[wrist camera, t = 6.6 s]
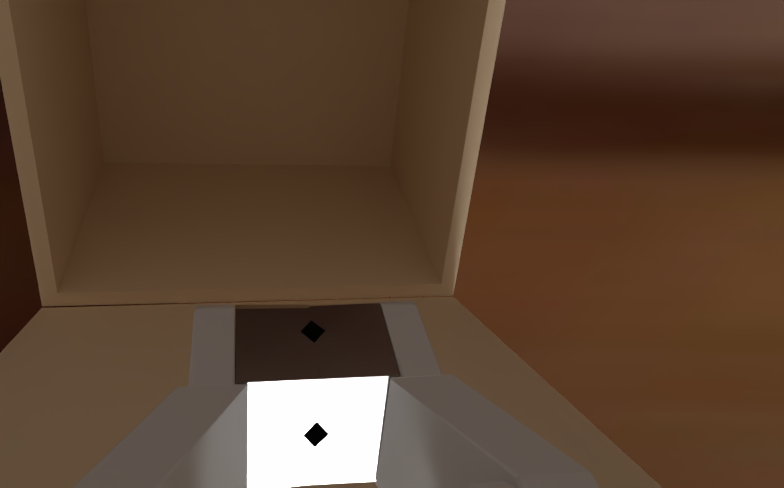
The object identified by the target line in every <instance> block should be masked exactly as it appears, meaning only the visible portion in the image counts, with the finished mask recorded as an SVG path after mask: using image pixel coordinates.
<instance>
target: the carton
mask: <svg viewBox="0 0 784 488" xmlns="http://www.w3.org/2000/svg"><path fill="white" fill-rule="evenodd" d="M505 2H506V0H0V78H1V84H2V89H3V95H4V100H5V106H6V111H7V116H8V122H9V127H10V133H11V138H12V144H13V149H14V155H15V160H16V166H17V171H18V177H19V182H20V188H21V193H22V199H23V204H24V210H25V215H26V221H27V226H28V232H29V237H30V242H31V248H32V253H33V259H34V264H35V270H36V275H37V281H38V286H39V292H40V297H41V303H42V306H76V305H114V304H152V303H190V302H228V301H266V300H304V299H342V298H381V297H419V296H453V293H454V287H455V282H456V276H457V270H458V265H459V259H460V254H461V248H462V242H463V237H464V231H465V226H466V220H467V215H468V209H469V203H470V198H471V192H472V187H473V181H474V175H475V170H476V164H477V159H478V153H479V147H480V142H481V136H482V131H483V125H484V119H485V114H486V108H487V103H488V97H489V92H490V86H491V80H492V75H493V69H494V64H495V58H496V52H497V47H498V41H499V36H500V30H501V24H502V19H503V13H504V8H505Z"/></svg>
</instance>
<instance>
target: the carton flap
mask: <svg viewBox="0 0 784 488" xmlns="http://www.w3.org/2000/svg"><path fill="white" fill-rule="evenodd" d="M405 300H412V301H413V302H414V303H416V305H417V308H418V310H419V313H420V316H421V318H422V321H423V324H424V327H425V329H426V332H427V335H428V337H429V340H430V343H431V345H432V348H433V351H434V353H435V356H436V359H437V362H438V364H439V367H440V370H441V372H442V375H454V376H455V377H457V378H458V379H460V380H461V381H462V382H464V383H465V384H467V385H468V386H469V387H471V388H472V389H474V390H475V391H476V392H478V393H479V394H481V395H482V396H484V397H485V398H486V399H488V400H489V401H491V402H492V403H493V404H495V405H496V406H498V407H499V408H501V409H502V410H503V411H505V412H506V413H508V414H509V415H510V416H512V417H513V418H515V419H516V420H518V421H519V422H520V423H522V424H523V425H525V426H526V427H527V428H529V429H530V430H532V431H533V432H535V433H536V434H537V435H539V436H540V437H542V438H543V439H544V440H546V441H547V442H549V443H550V444H551V445H553V446H554V447H556V448H557V449H559V450H560V451H561V452H563V453H564V454H566V455H567V456H568V457H570V458H571V459H573V460H574V461H576V462H577V463H578V464H580V465H581V466H583V467H584V468H585V469H587V470H588V471H590V472H591V473H592V475H593V477H594V479H595V481H596V483H597V485H598V487H599V488H662V487H661V486H660V485H659V484H658V483H657V482H656V481H654V480H653V479H652V478H651V477H650V476H649V475H648V474H647V473H646V472H645V471H644V470H642V469H641V468H640V467H639V466H638V465H637V464H636V463H635V462H634V461H633V460H632V459H630V458H629V457H628V456H627V455H626V454H625V453H624V452H623V451H622V450H621V449H619V448H618V447H617V446H616V445H615V444H614V443H613V442H612V441H611V440H610V439H609V438H607V437H606V436H605V435H604V434H603V433H602V432H601V431H600V430H599V429H598V428H597V427H595V426H594V425H593V424H592V423H591V422H590V421H589V420H588V419H587V418H586V417H584V416H583V415H582V414H581V413H580V412H579V411H578V410H577V409H576V408H575V407H574V406H572V405H571V404H570V403H569V402H568V401H567V400H566V399H565V398H564V397H563V396H561V395H560V394H559V393H558V392H557V391H556V390H555V389H554V388H553V387H552V386H551V385H549V384H548V383H547V382H546V381H545V380H544V379H543V378H542V377H541V376H540V375H539V374H537V373H536V372H535V371H534V370H533V369H532V368H531V367H530V366H529V365H528V364H526V363H525V362H524V361H523V360H522V359H521V358H520V357H519V356H518V355H517V354H516V353H514V352H513V351H512V350H511V349H510V348H509V347H508V346H507V345H506V344H505V343H504V342H502V341H501V340H500V339H499V338H498V337H497V336H496V335H495V334H494V333H493V332H491V331H490V330H489V329H488V328H487V327H486V326H485V325H484V324H483V323H482V322H481V321H479V320H478V319H477V318H476V317H475V316H474V315H473V314H472V313H471V312H470V311H468V310H467V309H466V308H465V307H464V306H463V305H462V304H461V303H460V302H459V301H458V300H456V299H455V298H454V297H433V298H395V299H358V300H320V301H283V302H245V303H208V304H170V305H133V306H95V307H58V308H41V309H40V310H39V311H38V312H37V313H36V315H35V316H34V317H33V318H32V319H31V320H30V321H29V322H28V323H27V324H26V325H25V327H24V328H23V329H22V330H21V331H20V332H19V333H18V334H17V335H16V336H15V337H14V339H13V340H12V341H11V342H10V343H9V344H8V345H7V346H6V347H5V348H4V349H3V350H2V352H1V353H0V488H73V487H74V486H75V485H76V484H77V483H78V482H79V481H80V480H81V479H82V478H83V477H84V476H85V475H86V474H87V473H88V472H89V471H90V470H91V469H93V468H94V467H95V466H96V465H97V464H98V463H99V462H100V461H101V460H102V459H103V458H104V457H105V456H106V455H107V454H108V453H109V452H110V451H111V450H112V449H113V448H114V447H115V446H116V445H117V444H118V443H119V442H120V441H122V440H123V439H124V438H125V437H126V436H127V435H128V434H129V433H130V432H131V431H132V430H133V429H134V428H135V427H136V426H137V425H138V424H139V423H140V422H141V421H142V420H143V419H144V418H145V417H146V416H147V415H148V414H149V413H151V412H152V411H153V410H154V409H155V408H156V407H157V406H158V405H159V404H160V403H161V402H162V401H163V400H164V399H165V398H166V397H167V396H168V395H169V394H170V393H171V392H172V391H173V390H174V389H175V388H177V387H188V382H189V369H190V357H191V344H192V331H193V319H194V311H195V308H196V306H198V305H233V306H234V308H235V305H332V304H363V303H378V302H386V301H405ZM284 488H378V487H377V486H376V481H374V482H354V483H334V484H314V485H313V484H312V485H303V486H294V487H284Z"/></svg>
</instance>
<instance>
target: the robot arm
mask: <svg viewBox="0 0 784 488" xmlns="http://www.w3.org/2000/svg"><path fill="white" fill-rule="evenodd" d="M374 481H376V486H377V487H378V488H599V487H598V485H597V483H596V481H595V479H594V477H593V475H592V473H591V472H590V471H588V470H587V469H585V468H584V467H583V466H581V465H580V464H578V463H577V462H576V461H574V460H573V459H571V458H570V457H568V456H567V455H566V454H564V453H563V452H561V451H560V450H559V449H557V448H556V447H554V446H553V445H551V444H550V443H549V442H547V441H546V440H544V439H543V438H542V437H540V436H539V435H537V434H536V433H535V432H533V431H532V430H530V429H529V428H527V427H526V426H525V425H523V424H522V423H520V422H519V421H518V420H516V419H515V418H513V417H512V416H510V415H509V414H508V413H506V412H505V411H503V410H502V409H501V408H499V407H498V406H496V405H495V404H493V403H492V402H491V401H489V400H488V399H486V398H485V397H484V396H482V395H481V394H479V393H478V392H476V391H475V390H474V389H472V388H471V387H469V386H468V385H467V384H465V383H464V382H462V381H461V380H460V379H458V378H457V377H455V376H454V375H442V372H441V370H440V367H439V364H438V362H437V359H436V356H435V353H434V351H433V348H432V345H431V343H430V340H429V337H428V335H427V332H426V329H425V327H424V324H423V321H422V318H421V316H420V313H419V310H418V308H417V305H416V303H414V302H413V301H412V300H405V301H386V302H378V303H363V304H332V305H235V308H234V306H233V305H198V306H196V308H195V311H194V319H193V331H192V344H191V357H190V369H189V382H188V387H177V388H175V389H174V390H173V391H172V392H171V393H170V394H169V395H168V396H167V397H166V398H165V399H164V400H163V401H162V402H161V403H160V404H159V405H158V406H157V407H156V408H155V409H154V410H153V411H152V412H151V413H149V414H148V415H147V416H146V417H145V418H144V419H143V420H142V421H141V422H140V423H139V424H138V425H137V426H136V427H135V428H134V429H133V430H132V431H131V432H130V433H129V434H128V435H127V436H126V437H125V438H124V439H123V440H122V441H120V442H119V443H118V444H117V445H116V446H115V447H114V448H113V449H112V450H111V451H110V452H109V453H108V454H107V455H106V456H105V457H104V458H103V459H102V460H101V461H100V462H99V463H98V464H97V465H96V466H95V467H94V468H93V469H91V470H90V471H89V472H88V473H87V474H86V475H85V476H84V477H83V478H82V479H81V480H80V481H79V482H78V483H77V484H76V485H75V486H74V487H73V488H284V487H294V486H303V485H312V484H313V485H314V484H334V483H354V482H374Z"/></svg>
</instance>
